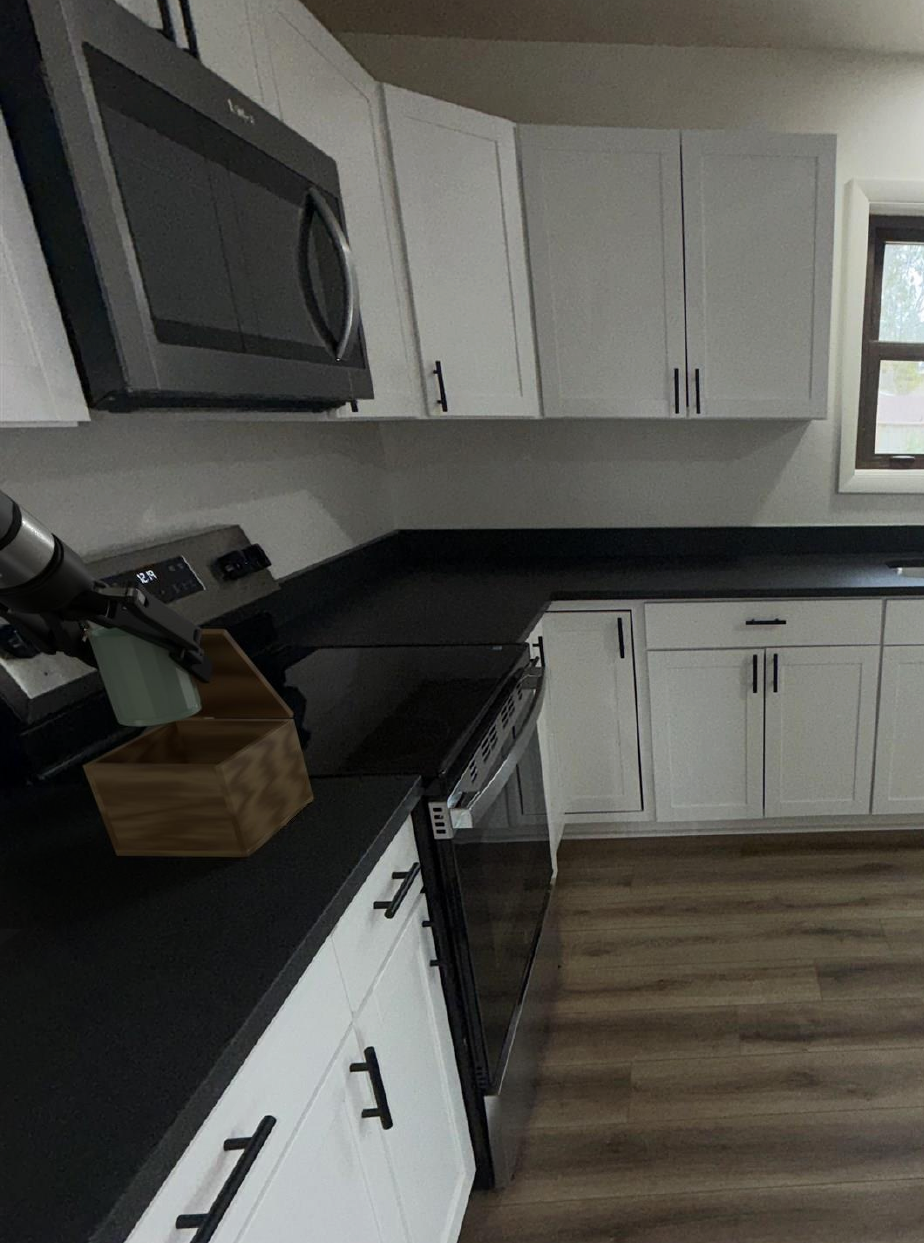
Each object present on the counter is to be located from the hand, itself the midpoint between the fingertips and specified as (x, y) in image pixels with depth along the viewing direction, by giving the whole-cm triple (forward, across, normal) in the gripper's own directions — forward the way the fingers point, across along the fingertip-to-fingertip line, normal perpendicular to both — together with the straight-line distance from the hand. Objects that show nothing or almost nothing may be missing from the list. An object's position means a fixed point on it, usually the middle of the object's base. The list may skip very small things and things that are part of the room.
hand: (167, 674), depth 93 cm
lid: (+7, -2, +3) cm, 8 cm away
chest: (+19, -2, -13) cm, 23 cm away
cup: (0, 0, -5) cm, 5 cm away
